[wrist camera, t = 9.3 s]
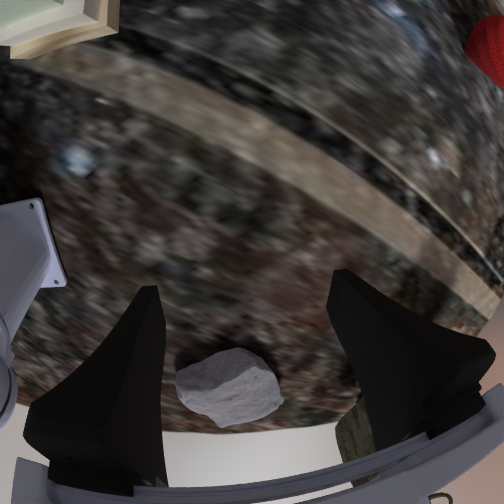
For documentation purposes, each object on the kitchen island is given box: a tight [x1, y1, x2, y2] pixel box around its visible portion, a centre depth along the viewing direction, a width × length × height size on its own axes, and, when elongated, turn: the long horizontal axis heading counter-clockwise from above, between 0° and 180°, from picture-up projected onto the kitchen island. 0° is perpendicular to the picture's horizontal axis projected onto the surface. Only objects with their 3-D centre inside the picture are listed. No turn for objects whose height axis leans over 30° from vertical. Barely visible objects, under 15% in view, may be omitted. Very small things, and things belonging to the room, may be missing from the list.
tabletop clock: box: [335, 379, 453, 504], centre depth 27 cm, size 14×9×25 cm, turn 156°
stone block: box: [175, 347, 284, 427], centre depth 31 cm, size 12×5×10 cm
